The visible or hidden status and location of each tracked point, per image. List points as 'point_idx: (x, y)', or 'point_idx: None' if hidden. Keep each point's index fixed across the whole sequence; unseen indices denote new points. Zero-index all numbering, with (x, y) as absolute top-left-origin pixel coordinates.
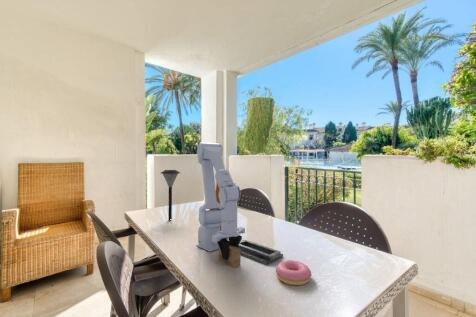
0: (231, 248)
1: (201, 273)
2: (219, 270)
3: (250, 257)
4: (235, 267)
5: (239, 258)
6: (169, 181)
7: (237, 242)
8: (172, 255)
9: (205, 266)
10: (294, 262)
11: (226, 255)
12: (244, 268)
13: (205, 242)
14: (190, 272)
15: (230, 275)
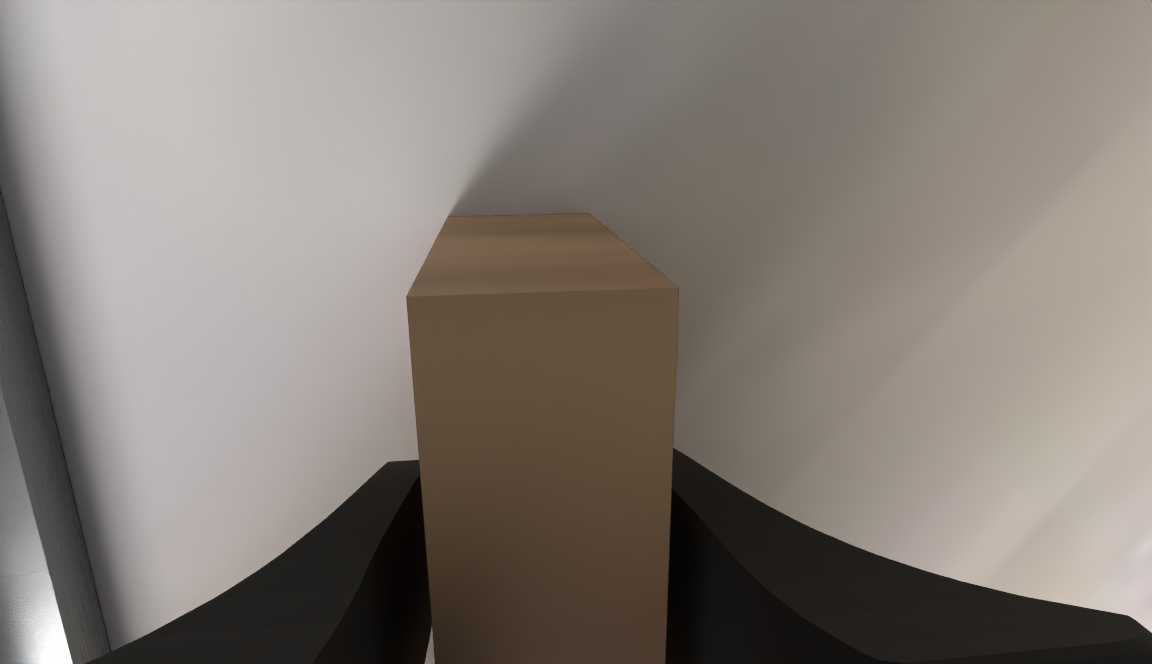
0: (635, 528)
1: (1081, 452)
2: (848, 344)
3: (9, 313)
4: (590, 217)
5: (474, 238)
6: None
7: (292, 647)
8: None
9: None
10: None
11: (718, 482)
12: (468, 67)
13: None
14: (1140, 569)
15: (862, 67)
